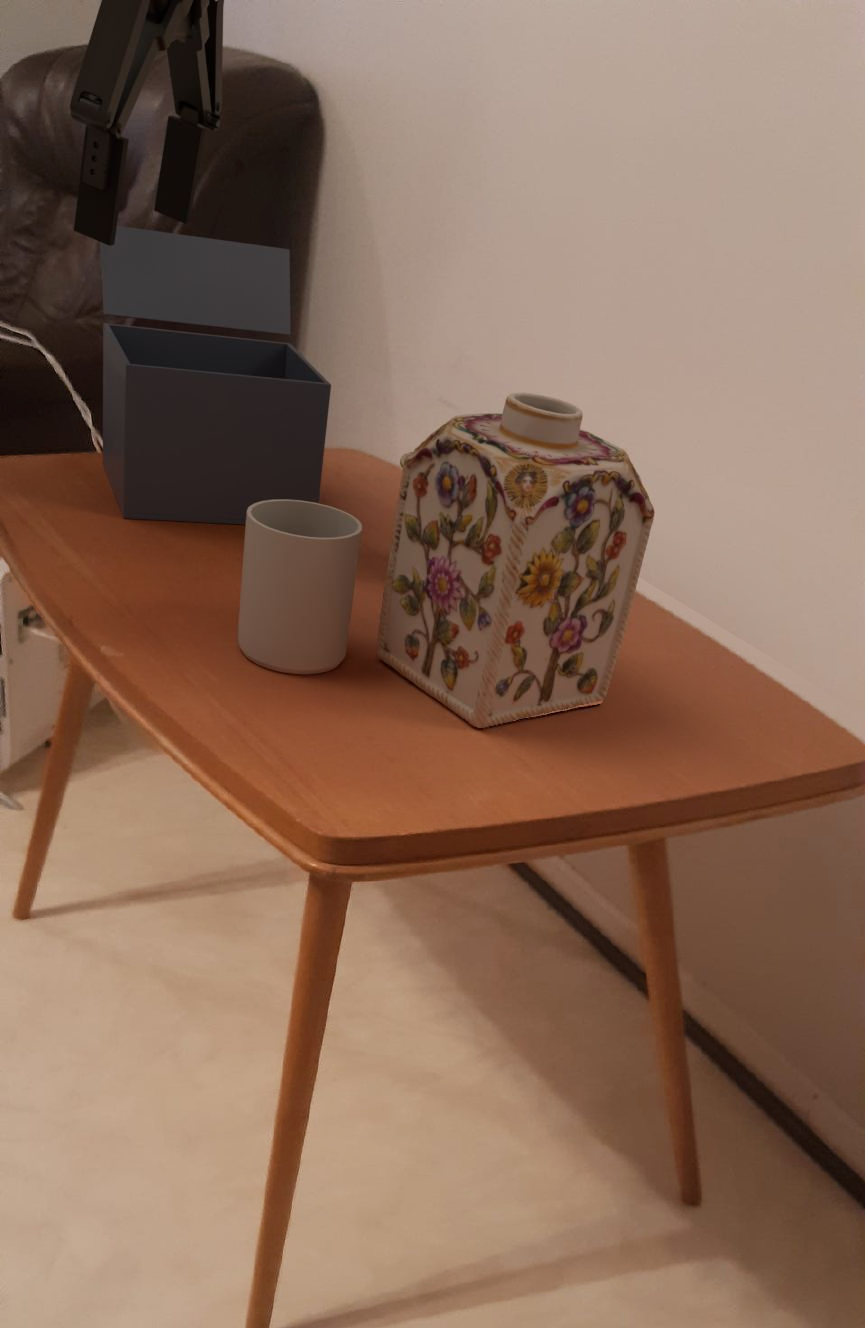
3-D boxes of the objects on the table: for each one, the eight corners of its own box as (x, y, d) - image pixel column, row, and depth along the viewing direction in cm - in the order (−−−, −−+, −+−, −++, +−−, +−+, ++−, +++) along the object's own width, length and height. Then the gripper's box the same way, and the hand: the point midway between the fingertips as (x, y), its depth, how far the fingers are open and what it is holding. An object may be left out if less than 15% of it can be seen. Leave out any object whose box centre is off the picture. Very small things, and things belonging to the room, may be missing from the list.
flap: (100, 223, 98) (99, 224, 99) (104, 314, 100) (103, 315, 100) (289, 249, 104) (288, 250, 104) (290, 334, 105) (289, 335, 106)
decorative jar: (369, 656, 82) (409, 373, 72) (499, 637, 89) (552, 375, 79) (479, 735, 75) (540, 434, 65) (610, 708, 82) (685, 431, 72)
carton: (123, 518, 97) (125, 364, 90) (102, 464, 107) (103, 322, 100) (315, 528, 102) (331, 384, 96) (278, 476, 112) (290, 343, 106)
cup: (254, 677, 77) (265, 537, 72) (213, 614, 84) (221, 483, 79) (360, 675, 80) (379, 540, 75) (312, 614, 87) (326, 487, 82)
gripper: (163, -138, 67) (108, 270, 80) (304, -95, 87) (241, 227, 100) (38, -191, 67) (2, 225, 80) (207, -136, 87) (156, 191, 100)
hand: (135, 227), depth 90 cm, fingers open, 13 cm apart
